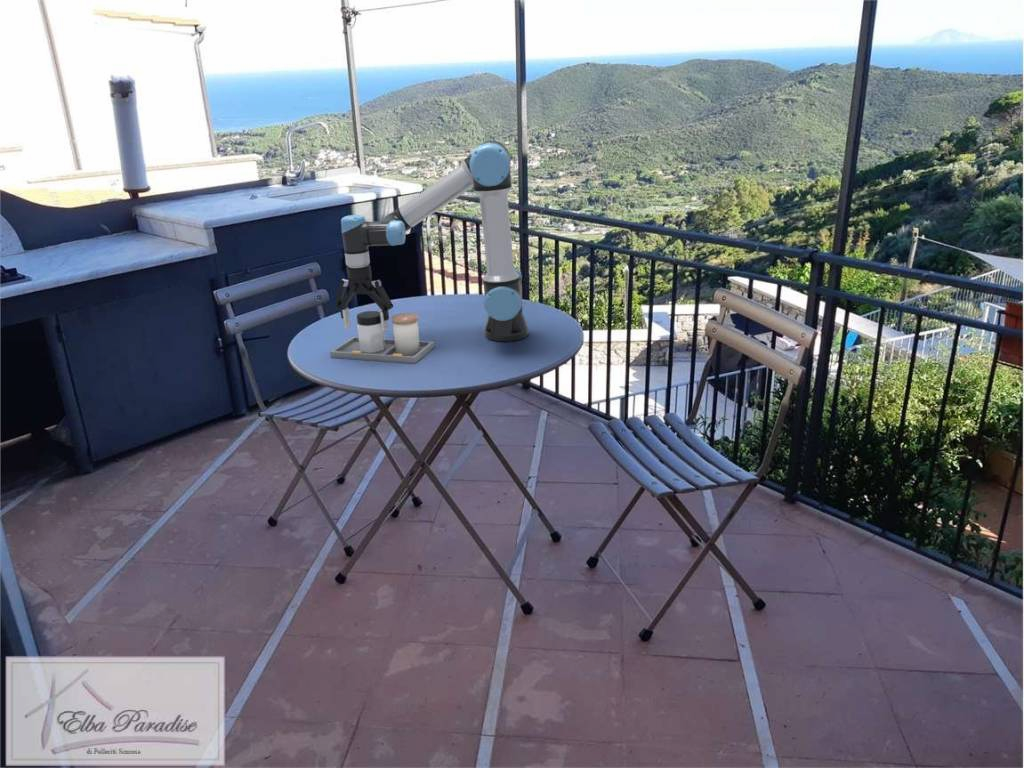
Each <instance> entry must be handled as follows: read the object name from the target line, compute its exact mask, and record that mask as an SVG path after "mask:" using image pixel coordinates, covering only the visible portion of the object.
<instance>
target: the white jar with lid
mask: <svg viewBox="0 0 1024 768" xmlns="http://www.w3.org/2000/svg"><path fill="white" fill-rule="evenodd" d="M418 321H419V315H418V314H417V313H414V312H402V313H397V314H394V315H392V316H391V322H392V328H393V329H392V330H393V339H394V341H395V351H396V354H403V356H414V355H416V354H417V353H418V352H419V351H420V342H419V341H420V333H419V322H418Z"/></svg>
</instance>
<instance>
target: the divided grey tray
mask: <svg viewBox="0 0 1024 768" xmlns="http://www.w3.org/2000/svg"><path fill="white" fill-rule="evenodd" d="M419 342H420V351H419V352H418V353H417V354H416V355H414V356H403V354H396V351H395V341H394V338H385V345H386V346H385V348H384V350H383V351H379V352H375V353H366V352H362V351H360V346H359V337H358V336H352V337H351V338H349V339H348V340H346V341H345V342H343V343H342V344H339V346H337V347H335V348H333V349H332V350H330V351H329V355H330V358H331V357H332V358H331V359H333V358H334V359H342V358H344V360H345V359H346V360H358V361H359V360H360V361H369V362H370V361H373V362H385V363H397V364H398V363H400V364H411V365H412V364H413V365H415V364H417V363H418V362H419V361H420V360H421V359H423V358H424V357H425V356H427V355H428V354H429V353H430V352H431V351H433V350H434V349H435V341H429V340H419Z"/></svg>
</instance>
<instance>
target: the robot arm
mask: <svg viewBox="0 0 1024 768" xmlns="http://www.w3.org/2000/svg"><path fill="white" fill-rule="evenodd" d="M511 175H512V174H511V155H510V151H509V150H508V148H507V147H506V146H505V145H504V144H502V143H501V142H499V141H496V140H488V141H484V142H482V143H481V144H480V145H479V146H477V147H475V149H474V150H473V152H472V153H471V154H470V155H468V156H467V157H466V158H464V159H463V160H462V164H461V165H460V166H458V167H456V168H455V169H454V170H452V171H451V172H449V173H448V174H447V175H445V176H444V177H442V178H441V179H439V180H438V181H436V182H435V183H433V184H432V185H430V186H429V187H427V188H426V189H425V190H423V191H422V192H420V193H418V194H417V195H415V196H414V197H413V198H411V199H410V200H408V201H407V202H406V203H404V204H402V205H401V206H399V208H397V209H395V210H394V211H392V212H390V213H388V214H387V215H385V216H384V217H383V219H382V220H381V221H367V220H366V217H365V216H364V215H363V214H350V215H346V216H344V217H342V218H341V219H340V223H341V236H342V241H343V242H342V243H343V248H344V257H345V265H346V274H347V275H346V276H347V278H348V279H346V278H342V279H341V280H340V281H339V288H338V291H337V294H336V298H335V300H334V301H335V302H334V304H333V306H334V309H335V308H336V309H337V308H338V309H339V311H340V317H341V319H342V320H343V325H344V329H345V330H348V329H349V328H351V327H352V326H351V325H352V324H351V318H350V310H349V307H347V306H348V304H349V303H350V302H351V300H352V298H353V297H354V296H355V294H356V295H367V296H368V297H369V298H370V299H371V300H372V301H374V303H375V305H377V306H378V308H379V309H380V311H379V312H380V316H381V324H382V331H384V332H385V331H387V330H388V329H389V324H388V320H390V315H389V313H390V312H389V311H390V310H391V309H393V308H394V304H393V302H392V301H391V299H390V297H389V295H388V294H387V291H386V290H385V288H384V287H383V284H382V283H383V282H382V279H377V280H373V279H372V267H371V265H370V263H371V260H370V251H369V247H374V246H375V247H381V246H382V247H383V246H384V247H385V246H392V247H394V246H399V245H400V246H401V245H404V244H405V242H406V232H408V231H410V230H412V228H413V227H415V226H417V225H418V224H419V223H422V221H424V220H425V219H428V218H429V217H430V216H431V215H433V214H435V213H436V212H438V211H439V210H441V209H442V208H444V207H446V205H449V204H450V203H452V202H453V201H454V200H455V199H458V197H460V196H461V195H463V194H464V193H466V192H468V191H469V190H471V189H472V188H473V191H474V193H475V194H477V196H479V205H480V216H481V225H482V226H481V227H482V234H483V245H484V253H485V254H484V255H485V264H486V274H485V275H484V276H483V277H482V283H483V292H484V300H483V305H484V306H483V307H484V309H485V312H486V313H487V314H488V315H487V316H488V318H487V321H486V323H485V327H484V338H486V339H487V338H488V339H487V340H489V339H490V340H489V341H493V340H494V342H501V341H507V342H515V341H514V340H516V341H520V340H523V339H525V338H527V337H528V336H529V326H528V323H527V321H526V318H525V316H524V315H525V314H524V312H523V311H524V309H523V285H522V284H523V283H522V282H523V281H522V279H523V276H522V272H521V270H520V269H516V268H514V267H515V266H514V255H513V253H514V252H513V246H512V245H513V242H512V233H511V232H512V231H511V230H512V229H511V222H510V221H511V220H510V211H509V210H510V208H509V198H508V193H509V192H510V191H511V189H512V187H513V186H512V185H513V184H512V176H511ZM347 287H349V288H350V289H349V290H348V293H347V294H346V291H347ZM374 288H375V289H374ZM377 293H378V294H377ZM345 294H346V296H345ZM344 296H345V297H344ZM527 335H528V336H527ZM526 336H527V337H526ZM524 337H525V338H524ZM522 338H523V339H522ZM519 339H520V340H519Z"/></svg>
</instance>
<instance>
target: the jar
mask: <svg viewBox="0 0 1024 768" xmlns="http://www.w3.org/2000/svg"><path fill="white" fill-rule="evenodd" d="M356 322H357V324H356V327H357V328H356V329H357V335H358V336H357V337H359V346H360V351H362V352H366V353H375V352H379V351H383V350H384V348H385V346H386V345H385V339H386V338H385V331H382V324H381V316H380V311H377V310H367V311H362V312H360V313H357V314H356Z"/></svg>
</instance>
